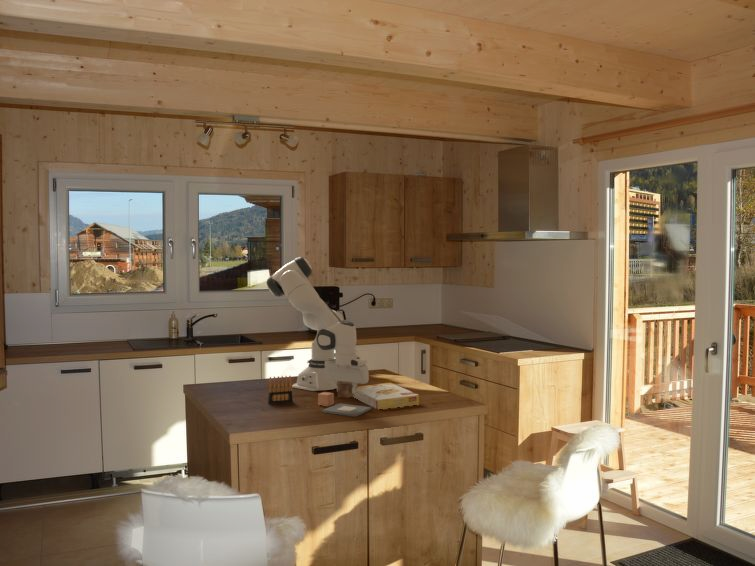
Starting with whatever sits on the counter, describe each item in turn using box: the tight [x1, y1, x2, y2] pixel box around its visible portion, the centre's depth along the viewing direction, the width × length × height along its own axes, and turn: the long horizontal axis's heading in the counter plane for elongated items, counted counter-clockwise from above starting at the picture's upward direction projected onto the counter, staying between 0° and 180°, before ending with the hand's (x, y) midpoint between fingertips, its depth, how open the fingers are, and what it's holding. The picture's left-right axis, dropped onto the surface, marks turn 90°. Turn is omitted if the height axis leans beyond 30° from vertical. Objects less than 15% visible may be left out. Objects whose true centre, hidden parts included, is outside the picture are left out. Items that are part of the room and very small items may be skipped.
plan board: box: [321, 402, 372, 418], centre depth 287 cm, size 16×14×1 cm
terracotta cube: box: [317, 391, 335, 407], centre depth 298 cm, size 5×5×5 cm
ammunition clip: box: [267, 375, 293, 405], centre depth 302 cm, size 11×2×12 cm, turn 111°
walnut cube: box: [337, 382, 354, 399], centre depth 286 cm, size 5×5×5 cm
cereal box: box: [352, 382, 420, 411], centre depth 305 cm, size 20×6×28 cm
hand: (345, 392), depth 286 cm, fingers closed on walnut cube, 5 cm apart
